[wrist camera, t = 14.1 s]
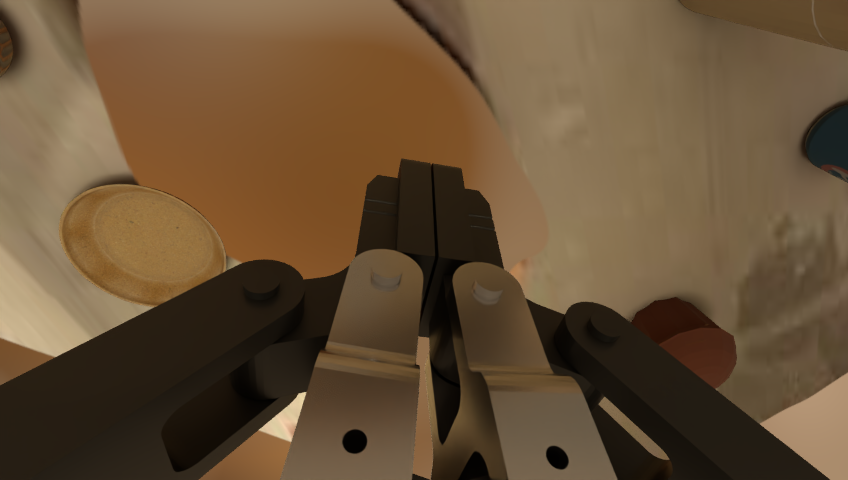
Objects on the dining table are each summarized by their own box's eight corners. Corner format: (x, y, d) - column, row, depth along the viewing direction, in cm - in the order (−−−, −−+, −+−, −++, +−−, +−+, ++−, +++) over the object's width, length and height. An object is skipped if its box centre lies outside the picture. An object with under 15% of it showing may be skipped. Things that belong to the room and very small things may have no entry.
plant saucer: (54, 253, 45) (39, 269, 43) (100, 141, 39) (85, 154, 37) (199, 309, 51) (191, 326, 49) (257, 221, 45) (251, 235, 43)
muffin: (719, 293, 58) (776, 352, 50) (678, 350, 64) (723, 411, 56) (637, 288, 56) (683, 348, 48) (604, 347, 62) (639, 410, 54)
